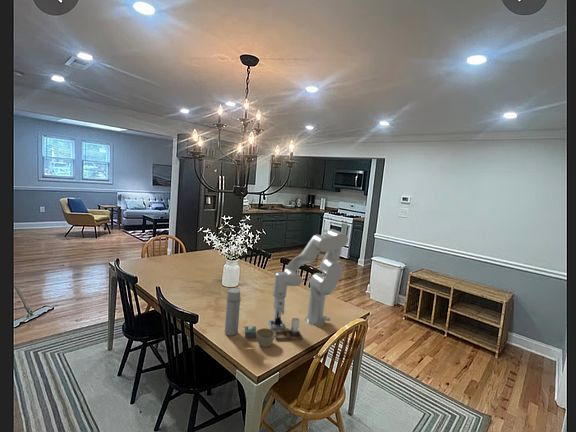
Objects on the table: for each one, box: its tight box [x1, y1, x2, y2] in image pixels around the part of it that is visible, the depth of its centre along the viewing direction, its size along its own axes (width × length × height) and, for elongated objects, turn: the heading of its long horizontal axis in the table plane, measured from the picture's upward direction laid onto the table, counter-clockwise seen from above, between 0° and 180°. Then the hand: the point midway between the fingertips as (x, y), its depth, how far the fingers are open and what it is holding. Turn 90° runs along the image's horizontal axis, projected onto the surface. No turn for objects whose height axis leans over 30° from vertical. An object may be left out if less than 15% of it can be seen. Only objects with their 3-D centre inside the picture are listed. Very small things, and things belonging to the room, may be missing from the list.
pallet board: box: [273, 329, 303, 341], centre depth 171 cm, size 14×7×3 cm, turn 101°
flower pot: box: [256, 327, 275, 348], centre depth 162 cm, size 10×10×7 cm
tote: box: [268, 319, 286, 331], centre depth 181 cm, size 8×8×3 cm
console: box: [244, 325, 257, 339], centre depth 170 cm, size 6×6×4 cm
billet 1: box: [272, 310, 281, 327], centre depth 180 cm, size 4×4×10 cm
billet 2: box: [290, 317, 300, 337], centre depth 171 cm, size 4×4×10 cm
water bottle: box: [224, 287, 242, 337], centre depth 169 cm, size 9×8×25 cm
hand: (277, 322), depth 181 cm, fingers closed on billet 1, 4 cm apart
